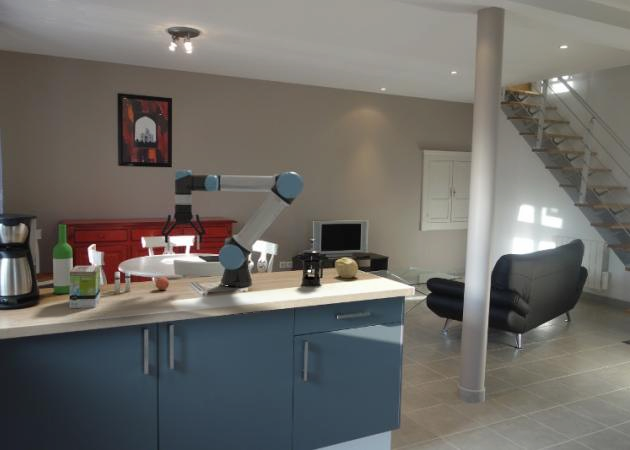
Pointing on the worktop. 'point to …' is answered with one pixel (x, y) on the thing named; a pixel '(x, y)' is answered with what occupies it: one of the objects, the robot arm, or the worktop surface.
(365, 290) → the worktop surface
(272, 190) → the robot arm
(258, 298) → the worktop surface
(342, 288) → the worktop surface
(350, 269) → the sculpture
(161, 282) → the ball
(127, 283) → the front pin
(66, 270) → the wine bottle
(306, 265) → the french press
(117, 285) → the pin
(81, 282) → the tea box
